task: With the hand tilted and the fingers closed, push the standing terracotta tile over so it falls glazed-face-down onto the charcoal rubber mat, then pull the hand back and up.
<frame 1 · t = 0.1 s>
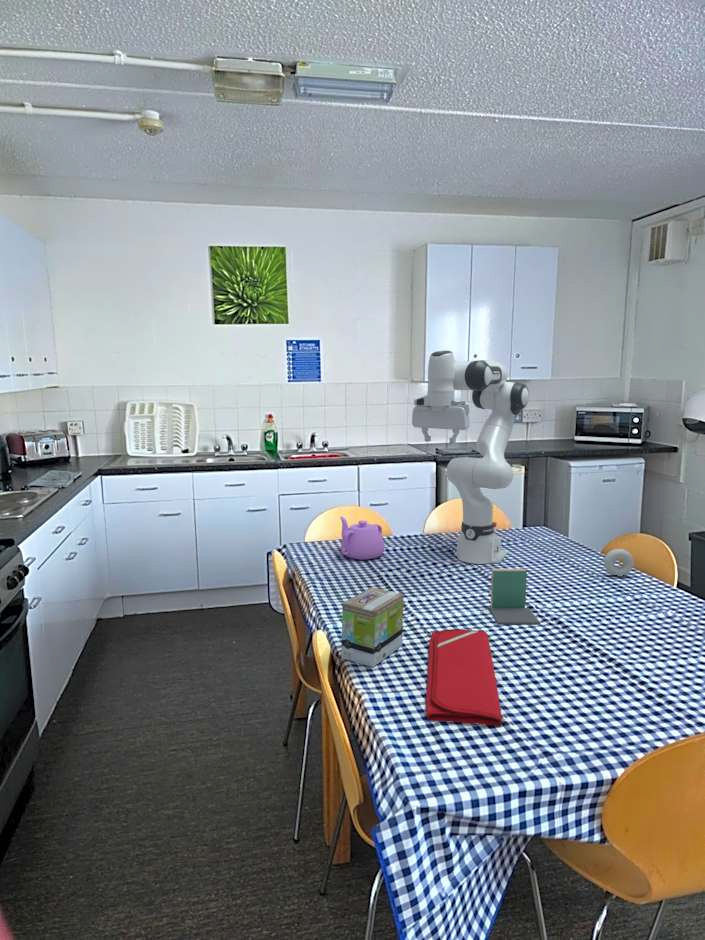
hand: (439, 442, 209), 48 cm above the table, tool pointing down, fingers open, 8 cm apart
teapot: (358, 554, 248), on the table
donut: (617, 576, 221), on the table
dish drying mat: (460, 678, 149), on the table
tea box: (372, 653, 162), on the table
tile: (507, 607, 192), on the table
mat: (513, 616, 184), on the table
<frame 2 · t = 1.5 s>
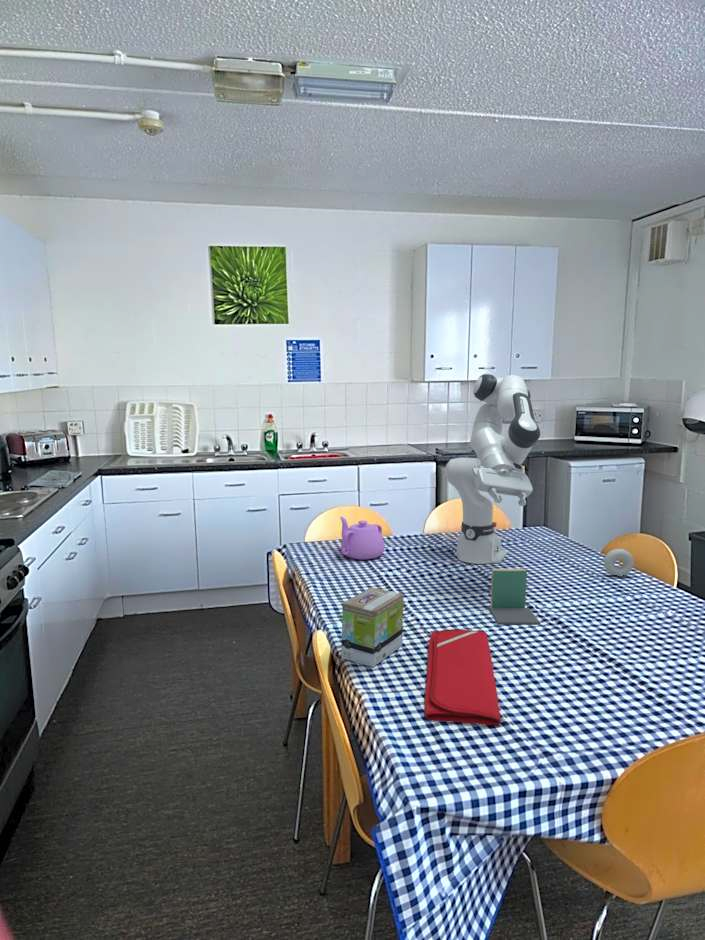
hand: (511, 503, 194), 31 cm above the table, tool tilted 50°, fingers open, 8 cm apart
nothing on the table moved.
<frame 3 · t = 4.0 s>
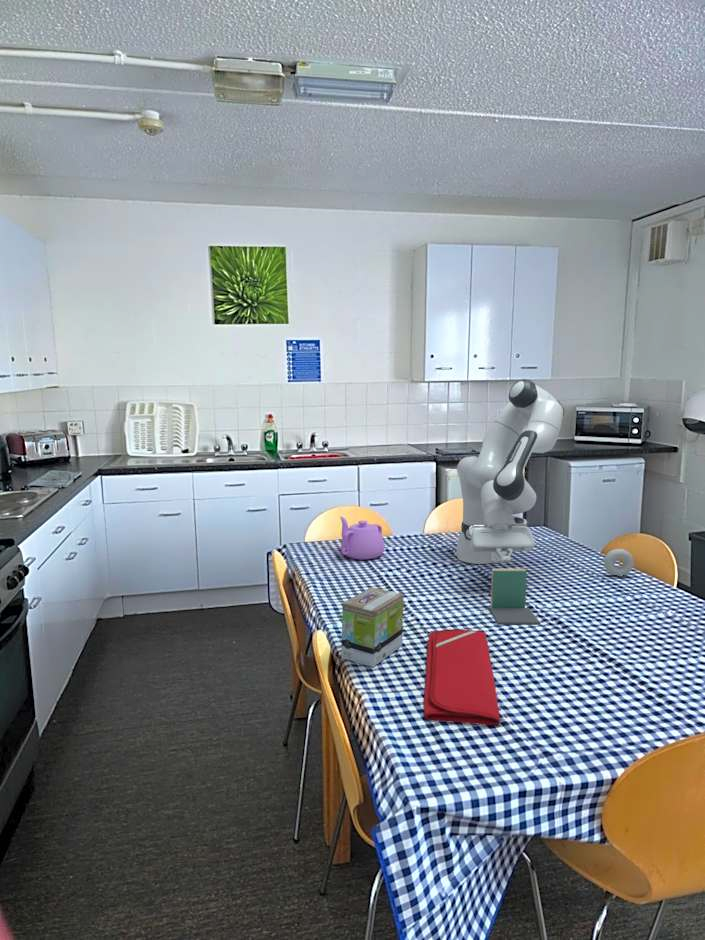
hand: (505, 562, 200), 11 cm above the table, tool tilted 45°, fingers closed
nothing on the table moved.
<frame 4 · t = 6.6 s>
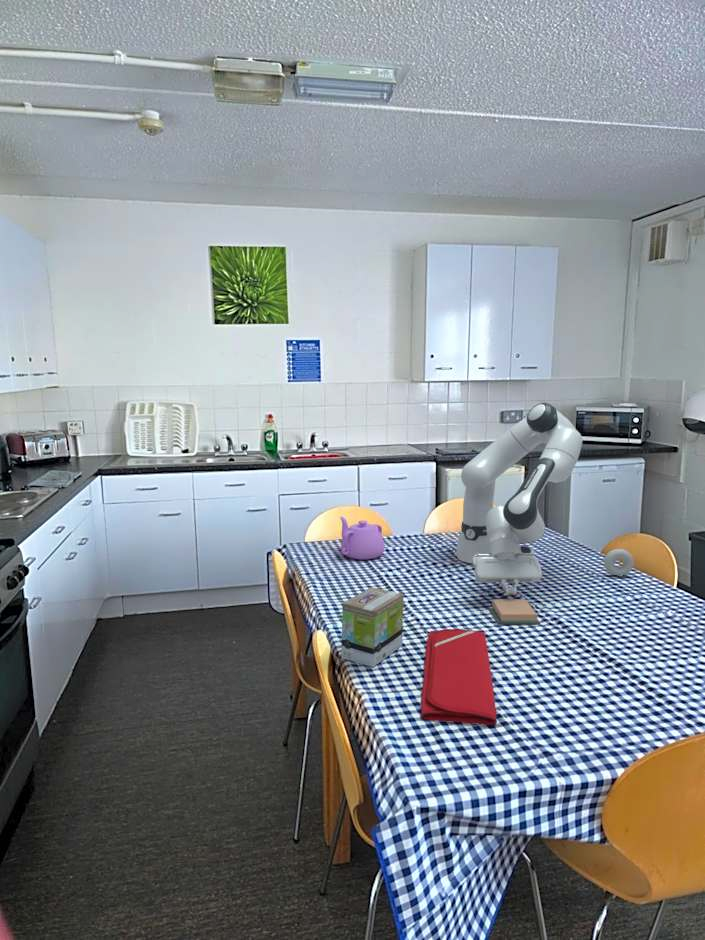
hand: (511, 594, 189), 5 cm above the table, tool tilted 45°, fingers closed
tile: (508, 603, 191), point 2 cm above the table, tilted 90°, touching mat
everything else where it was.
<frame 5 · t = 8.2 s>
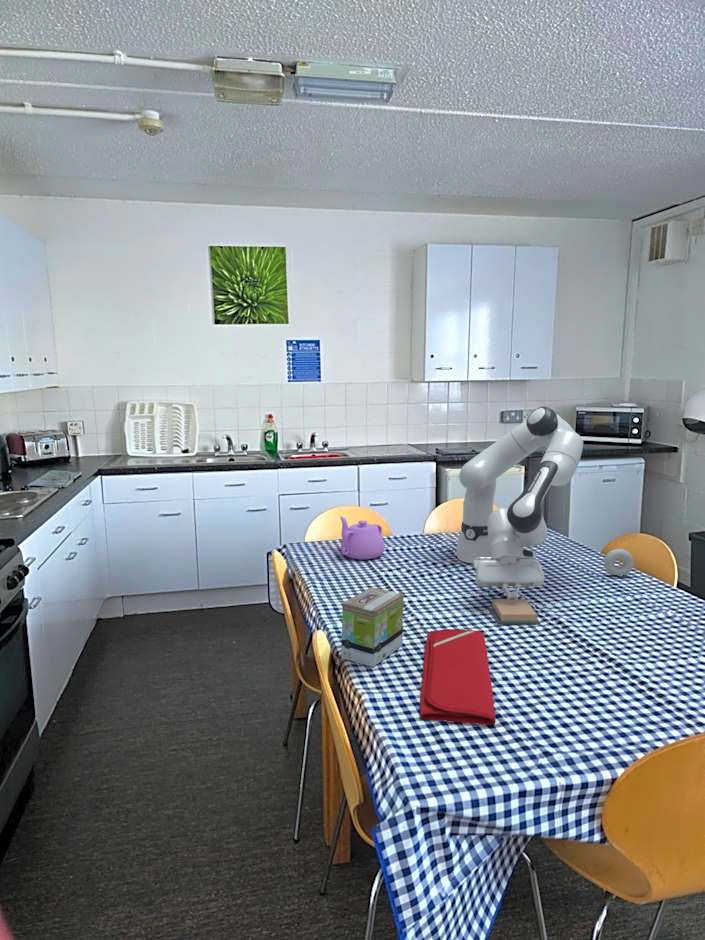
hand: (513, 598, 186), 5 cm above the table, tool tilted 45°, fingers closed
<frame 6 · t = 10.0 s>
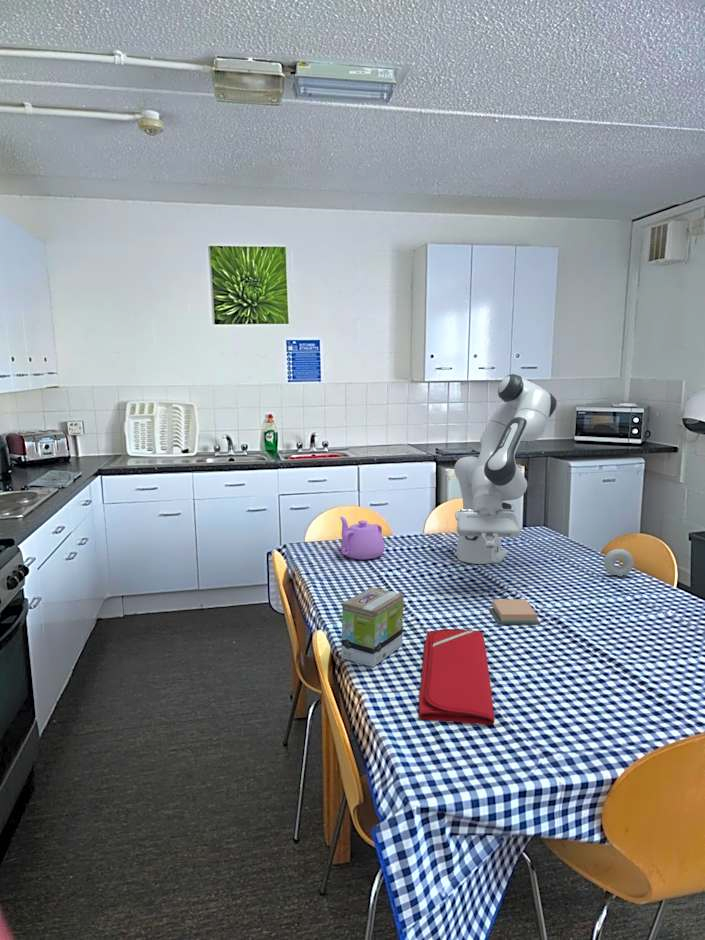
hand: (490, 547, 198), 17 cm above the table, tool tilted 45°, fingers closed
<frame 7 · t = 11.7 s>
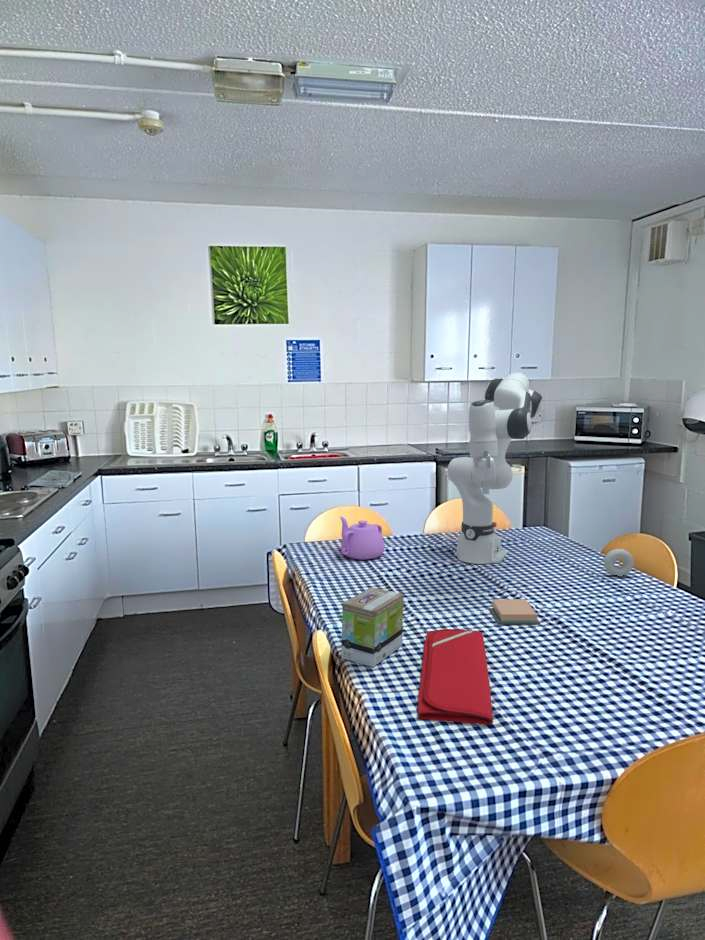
hand: (485, 493, 202), 32 cm above the table, tool pointing down, fingers closed
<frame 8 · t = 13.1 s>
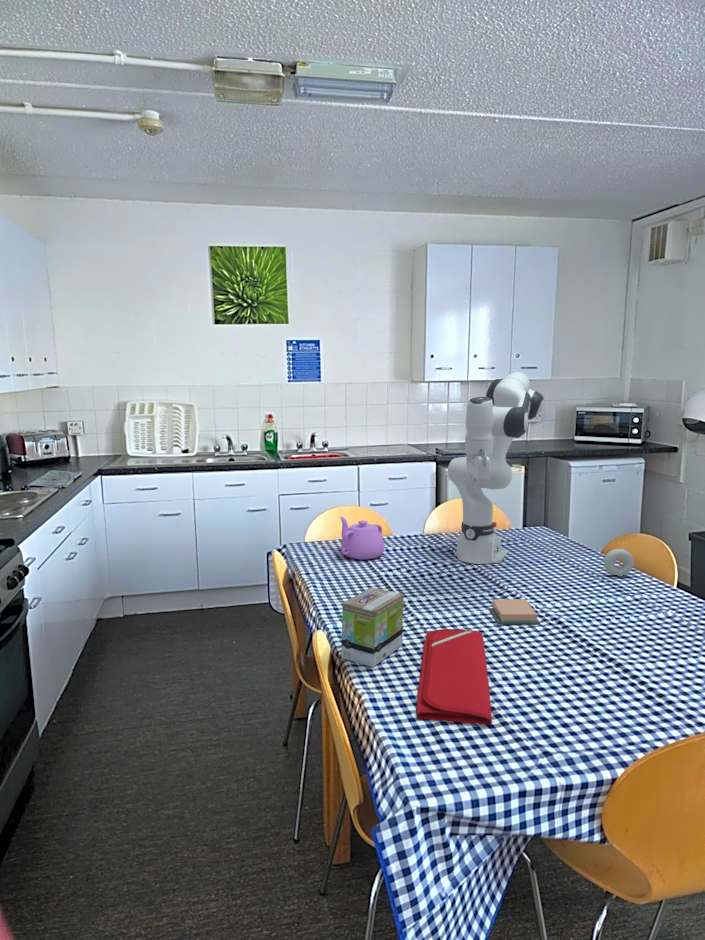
hand: (477, 490, 204), 33 cm above the table, tool pointing down, fingers closed
at the end: tile tilted 90°; tile 6.5 cm from the mat (horizontally) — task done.
